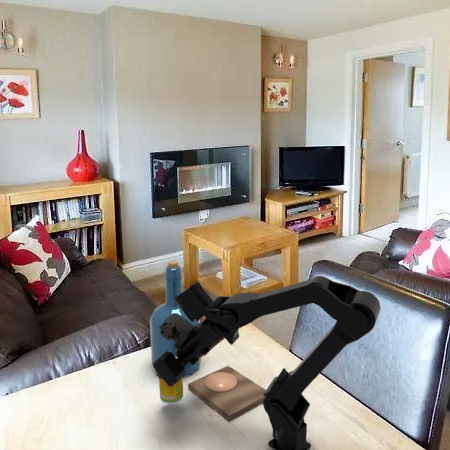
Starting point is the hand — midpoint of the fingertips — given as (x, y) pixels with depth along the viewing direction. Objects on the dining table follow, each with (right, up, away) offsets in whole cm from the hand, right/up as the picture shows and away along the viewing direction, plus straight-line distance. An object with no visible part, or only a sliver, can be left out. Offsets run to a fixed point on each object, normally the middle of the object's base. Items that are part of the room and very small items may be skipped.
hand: (165, 370), depth 106 cm
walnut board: (+15, -8, +7) cm, 18 cm away
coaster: (+13, -6, +9) cm, 17 cm away
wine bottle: (+1, -5, +20) cm, 20 cm away
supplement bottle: (+1, -7, +1) cm, 7 cm away
